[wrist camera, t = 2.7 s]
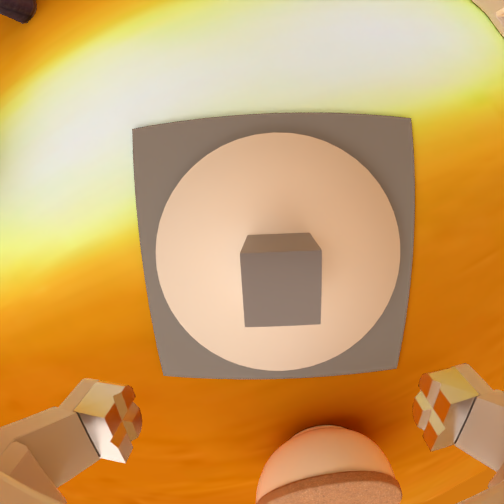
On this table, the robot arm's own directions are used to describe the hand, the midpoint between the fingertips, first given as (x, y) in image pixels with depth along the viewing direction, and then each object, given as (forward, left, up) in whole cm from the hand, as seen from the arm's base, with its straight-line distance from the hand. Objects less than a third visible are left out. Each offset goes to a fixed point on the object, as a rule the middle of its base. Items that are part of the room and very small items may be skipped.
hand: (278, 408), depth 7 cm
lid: (0, 0, -14) cm, 14 cm away
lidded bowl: (-4, +20, -15) cm, 25 cm away
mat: (0, 0, -15) cm, 15 cm away
